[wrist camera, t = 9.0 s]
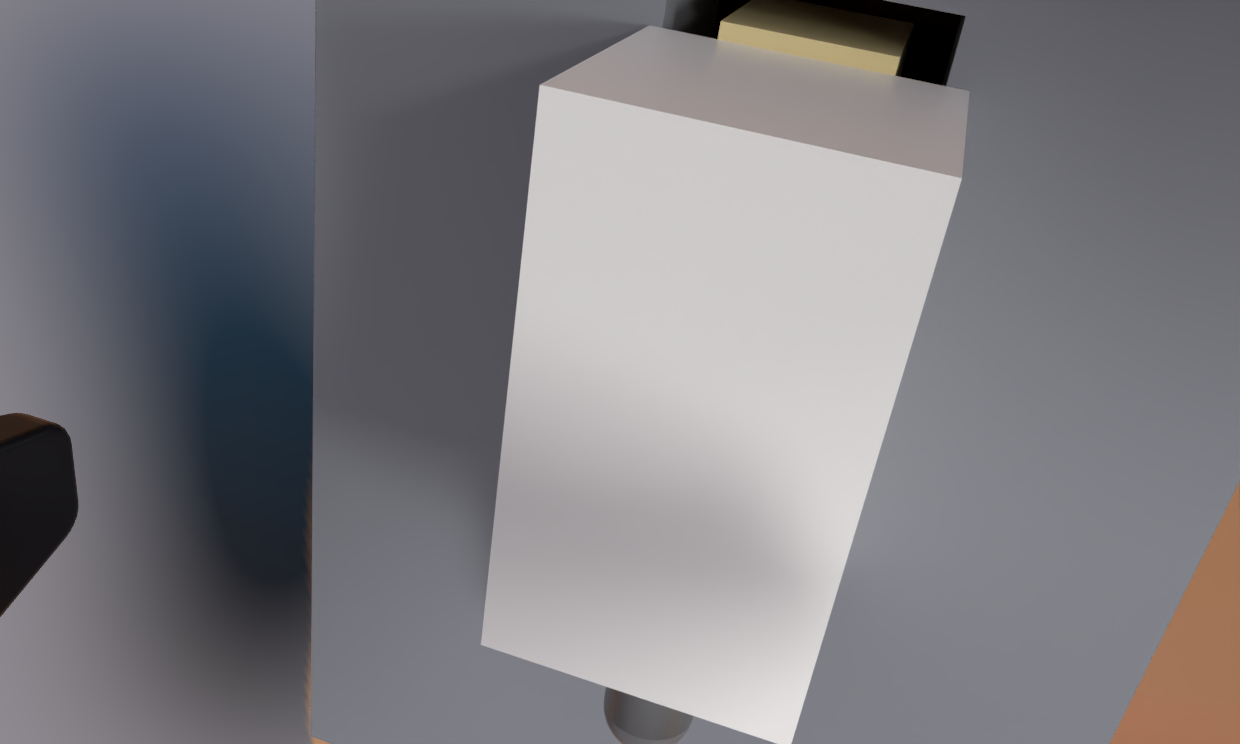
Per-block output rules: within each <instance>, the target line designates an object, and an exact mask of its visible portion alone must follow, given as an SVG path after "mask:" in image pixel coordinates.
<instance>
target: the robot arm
mask: <svg viewBox="0 0 1240 744" xmlns="http://www.w3.org/2000/svg"><path fill="white" fill-rule="evenodd" d="M77 513H78V496H77V487H76V478H75V470H74V461H73V452H72V444H71V439H70V437H69V435H68V433H67V432H66V430H65V429H64V428H63V427H61V426H60V425H58V424H56V423H53V422H50V421H47V420H44V419H41V418H37V417H34V416H31V415H28V414H22V413H12V414H7V415H2V416H0V617H1V616H2V614H3V613H4V612H5V611H6V609H7V608H8V607H9V606H10V604H11V603H12V602H13V601H14V600H15V599H16V597H17V596H18V595H19V594H20V593H21V591H22V590H23V589H24V588H25V586H26V585H27V584H28V583H29V581H30V580H31V579H32V578H33V577H34V575H35V574H36V573H37V572H38V571H39V569H40V568H41V567H42V566H43V565H44V563H45V562H46V561H47V560H48V558H49V557H50V556H51V555H52V554H53V552H54V551H55V550H56V549H57V548H58V546H59V545H60V544H61V543H62V542H63V540H64V539H65V538H66V537H67V535H68V533H69V532H70V531H71V528H72V527H73V525H74V523H75V520H76V517H77Z"/></svg>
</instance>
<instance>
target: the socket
mask: <svg viewBox="0 0 1240 744" xmlns="http://www.w3.org/2000/svg"><path fill="white" fill-rule="evenodd" d="M885 1H890V2H895V3H901V4H906V5H911V6H916V7H921V8H927V9H932V10H937V11H942V12H947V13H953V14H958V15H962V16H961V20H960V23H959V27H958V31H957V34H956V38H955V41H954V45H953V48H952V52H951V55H950V59H949V63H948V66H947V70H946V73H945V77H944V80H943V84H942V86H947V87H952V88H957V89H962V90H967V91H969V103H968V115H967V126H966V138H965V150H964V161H963V173H962V180H961V183H960V187H959V190H958V193H957V197H956V200H955V203H954V207H953V210H952V213H951V217H950V220H949V223H948V227H947V230H946V233H945V236H944V240H943V243H942V246H941V250H940V253H939V256H938V260H937V263H936V266H935V270H934V273H933V276H932V280H931V283H930V286H929V289H928V293H927V296H926V299H925V303H924V306H923V309H922V313H921V316H920V319H919V323H918V326H917V329H916V333H915V336H914V339H913V342H912V346H911V349H910V352H909V356H908V359H907V362H906V366H905V369H904V372H903V376H902V379H901V382H900V386H899V389H898V392H897V395H896V399H895V402H894V405H893V409H892V412H891V415H890V419H889V422H888V425H887V429H886V432H885V435H884V439H883V442H882V445H881V448H880V452H879V455H878V458H877V462H876V465H875V468H874V472H873V475H872V478H871V482H870V485H869V488H868V492H867V495H866V498H865V501H864V505H863V508H862V511H861V515H860V518H859V521H858V525H857V528H856V531H855V535H854V538H853V541H852V545H851V548H850V551H849V554H848V558H847V561H846V564H845V568H844V571H843V574H842V578H841V581H840V584H839V588H838V591H837V594H836V598H835V601H834V604H833V607H832V611H831V614H830V617H829V621H828V624H827V627H826V631H825V634H824V637H823V641H822V644H821V647H820V651H819V654H818V657H817V660H816V664H815V667H814V670H813V674H812V677H811V680H810V684H809V687H808V690H807V694H806V697H805V700H804V704H803V707H802V710H801V713H800V717H799V720H798V723H797V727H796V730H795V733H794V737H793V740H792V743H791V744H1109V743H1110V741H1111V739H1112V737H1113V735H1114V733H1115V731H1116V729H1117V727H1118V725H1119V723H1120V721H1121V719H1122V717H1123V715H1124V713H1125V711H1126V709H1127V707H1128V705H1129V703H1130V701H1131V699H1132V697H1133V695H1134V693H1135V691H1136V689H1137V687H1138V685H1139V683H1140V681H1141V679H1142V677H1143V675H1144V673H1145V671H1146V669H1147V667H1148V665H1149V663H1150V661H1151V659H1152V657H1153V655H1154V653H1155V651H1156V649H1157V647H1158V645H1159V643H1160V641H1161V639H1162V637H1163V635H1164V633H1165V631H1166V629H1167V627H1168V625H1169V623H1170V621H1171V619H1172V617H1173V615H1174V613H1175V611H1176V609H1177V607H1178V605H1179V602H1180V600H1181V598H1182V596H1183V594H1184V592H1185V590H1186V588H1187V586H1188V584H1189V582H1190V580H1191V578H1192V576H1193V574H1194V572H1195V570H1196V568H1197V566H1198V564H1199V562H1200V560H1201V558H1202V556H1203V554H1204V552H1205V550H1206V548H1207V546H1208V544H1209V542H1210V540H1211V538H1212V536H1213V534H1214V532H1215V530H1216V528H1217V526H1218V524H1219V522H1220V520H1221V518H1222V516H1223V514H1224V512H1225V510H1226V508H1227V506H1228V504H1229V502H1230V500H1231V498H1232V496H1233V494H1234V492H1235V490H1236V488H1237V486H1238V484H1239V482H1240V0H885ZM717 5H718V0H316V42H315V43H316V45H315V46H316V47H315V49H316V50H315V187H314V190H315V191H314V331H313V332H314V334H313V336H314V337H313V475H312V620H311V736H312V737H315V738H317V739H320V740H323V741H326V742H328V743H331V744H622V743H621V742H620V741H619V740H618V739H616V737H615V736H614V735H613V734H612V732H611V730H610V728H609V726H608V724H607V722H606V718H605V714H604V695H605V690H606V686H603V685H600V684H597V683H594V682H591V681H588V680H585V679H582V678H579V677H576V676H573V675H570V674H567V673H564V672H561V671H558V670H555V669H552V668H549V667H546V666H543V665H540V664H537V663H534V662H531V661H528V660H525V659H522V658H519V657H516V656H513V655H510V654H507V653H504V652H501V651H498V650H495V649H492V648H489V647H486V646H483V645H481V638H482V629H483V619H484V610H485V600H486V591H487V581H488V572H489V562H490V553H491V543H492V534H493V524H494V515H495V505H496V495H497V486H498V476H499V467H500V457H501V448H502V438H503V429H504V419H505V410H506V400H507V391H508V381H509V372H510V362H511V353H512V343H513V334H514V324H515V315H516V305H517V296H518V286H519V277H520V267H521V258H522V248H523V239H524V229H525V220H526V210H527V201H528V191H529V182H530V172H531V162H532V153H533V143H534V134H535V124H536V115H537V105H538V96H539V86H540V84H542V83H544V82H546V81H548V80H549V79H551V78H553V77H555V76H557V75H559V74H560V73H562V72H564V71H566V70H568V69H570V68H572V67H573V66H575V65H577V64H579V63H581V62H583V61H584V60H586V59H588V58H590V57H592V56H594V55H596V54H597V53H599V52H601V51H603V50H605V49H607V48H609V47H610V46H612V45H614V44H616V43H618V42H620V41H621V40H623V39H625V38H627V37H629V36H631V35H633V34H634V33H636V32H638V31H640V30H642V29H644V28H645V27H647V26H649V25H651V26H656V27H660V28H665V29H670V30H675V31H680V32H685V33H690V34H694V35H699V36H704V37H709V38H712V33H713V27H714V22H715V16H716V10H717ZM676 744H776V743H773V742H770V741H767V740H764V739H761V738H758V737H755V736H752V735H749V734H746V733H743V732H740V731H737V730H734V729H731V728H728V727H725V726H722V725H719V724H716V723H713V722H710V721H707V720H704V719H701V718H698V717H695V716H693V719H692V722H691V725H690V727H689V729H688V731H687V732H686V734H685V735H684V736H683V738H682V739H681V740H680V741H679V742H678V743H676Z"/></svg>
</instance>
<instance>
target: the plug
mask: <svg viewBox="0 0 1240 744" xmlns="http://www.w3.org/2000/svg"><path fill="white" fill-rule="evenodd" d="M913 26H914V24H913V23H908V22H903V21H898V20H893V19H888V18H883V17H878V16H873V15H867V14H862V13H857V12H852V11H847V10H842V9H837V8H832V7H827V6H821V5H816V4H811V3H806V2H801V1H796V0H751V1H750V2H748V3H747V4H745V5H744V6H742V7H741V8H739V9H738V10H736V11H735V12H733V13H732V14H730V15H729V16H727V17H726V18H724V19H723V20H721V22H720V28H719V33H718V39H714V38H709V37H704V36H699V35H694V34H690V33H685V32H680V31H675V30H670V29H665V28H660V27H656V26H651V25H649V26H647V27H645V28H644V29H642V30H640V31H638V32H636V33H634V34H633V35H631V36H629V37H627V38H625V39H623V40H621V41H620V42H618V43H616V44H614V45H612V46H610V47H609V48H607V49H605V50H603V51H601V52H599V53H597V54H596V55H594V56H592V57H590V58H588V59H586V60H584V61H583V62H581V63H579V64H577V65H575V66H573V67H572V68H570V69H568V70H566V71H564V72H562V73H560V74H559V75H557V76H555V77H553V78H551V79H549V80H548V81H546V82H544V83H542V84H540V86H539V96H538V105H537V115H536V124H535V134H534V143H533V153H532V162H531V172H530V182H529V191H528V201H527V210H526V220H525V229H524V239H523V248H522V258H521V267H520V277H519V286H518V296H517V305H516V315H515V324H514V334H513V343H512V353H511V362H510V372H509V381H508V391H507V400H506V410H505V419H504V429H503V438H502V448H501V457H500V467H499V476H498V486H497V495H496V505H495V515H494V524H493V534H492V543H491V553H490V562H489V572H488V581H487V591H486V600H485V610H484V619H483V629H482V638H481V645H483V646H486V647H489V648H492V649H495V650H498V651H501V652H504V653H507V654H510V655H513V656H516V657H519V658H522V659H525V660H528V661H531V662H534V663H537V664H540V665H543V666H546V667H549V668H552V669H555V670H558V671H561V672H564V673H567V674H570V675H573V676H576V677H579V678H582V679H585V680H588V681H591V682H594V683H597V684H600V685H603V686H606V690H605V695H604V714H605V718H606V722H607V724H608V726H609V728H610V730H611V732H612V734H613V735H614V736H615V737H616V739H618V740H619V741H620V742H621V743H622V744H676V743H678V742H679V741H680V740H681V739H682V738H683V736H684V735H685V734H686V732H687V731H688V729H689V727H690V725H691V722H692V719H693V716H695V717H698V718H701V719H704V720H707V721H710V722H713V723H716V724H719V725H722V726H725V727H728V728H731V729H734V730H737V731H740V732H743V733H746V734H749V735H752V736H755V737H758V738H761V739H764V740H767V741H770V742H773V743H776V744H791V743H792V740H793V737H794V733H795V730H796V727H797V723H798V720H799V717H800V713H801V710H802V707H803V704H804V700H805V697H806V694H807V690H808V687H809V684H810V680H811V677H812V674H813V670H814V667H815V664H816V660H817V657H818V654H819V651H820V647H821V644H822V641H823V637H824V634H825V631H826V627H827V624H828V621H829V617H830V614H831V611H832V607H833V604H834V601H835V598H836V594H837V591H838V588H839V584H840V581H841V578H842V574H843V571H844V568H845V564H846V561H847V558H848V554H849V551H850V548H851V545H852V541H853V538H854V535H855V531H856V528H857V525H858V521H859V518H860V515H861V511H862V508H863V505H864V501H865V498H866V495H867V492H868V488H869V485H870V482H871V478H872V475H873V472H874V468H875V465H876V462H877V458H878V455H879V452H880V448H881V445H882V442H883V439H884V435H885V432H886V429H887V425H888V422H889V419H890V415H891V412H892V409H893V405H894V402H895V399H896V395H897V392H898V389H899V386H900V382H901V379H902V376H903V372H904V369H905V366H906V362H907V359H908V356H909V352H910V349H911V346H912V342H913V339H914V336H915V333H916V329H917V326H918V323H919V319H920V316H921V313H922V309H923V306H924V303H925V299H926V296H927V293H928V289H929V286H930V283H931V280H932V276H933V273H934V270H935V266H936V263H937V260H938V256H939V253H940V250H941V246H942V243H943V240H944V236H945V233H946V230H947V227H948V223H949V220H950V217H951V213H952V210H953V207H954V203H955V200H956V197H957V193H958V190H959V187H960V183H961V180H962V173H963V161H964V150H965V138H966V126H967V115H968V103H969V91H967V90H962V89H957V88H952V87H947V86H942V85H937V84H933V83H928V82H923V81H918V80H913V79H908V78H903V77H900V75H901V72H902V68H903V64H904V60H905V56H906V52H907V49H908V45H909V41H910V37H911V33H912V30H913Z"/></svg>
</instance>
